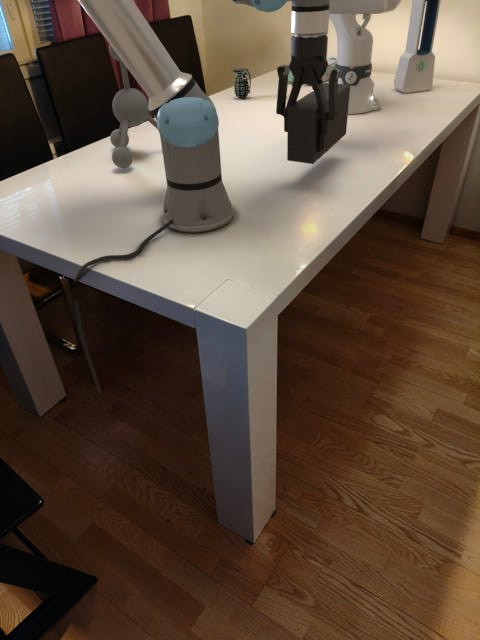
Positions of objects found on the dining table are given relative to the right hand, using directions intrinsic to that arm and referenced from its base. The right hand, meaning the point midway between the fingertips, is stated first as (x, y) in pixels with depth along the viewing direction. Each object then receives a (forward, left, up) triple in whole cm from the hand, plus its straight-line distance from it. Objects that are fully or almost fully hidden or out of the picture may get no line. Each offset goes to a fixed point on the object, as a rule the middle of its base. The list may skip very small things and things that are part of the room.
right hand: (341, 35), depth 120 cm
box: (+18, -2, -21) cm, 28 cm away
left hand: (+26, -4, -19) cm, 33 cm away
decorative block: (-86, -20, -28) cm, 93 cm away
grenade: (-52, -42, -28) cm, 73 cm away
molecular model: (+12, -52, -28) cm, 61 cm away
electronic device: (-70, +20, -28) cm, 78 cm away
